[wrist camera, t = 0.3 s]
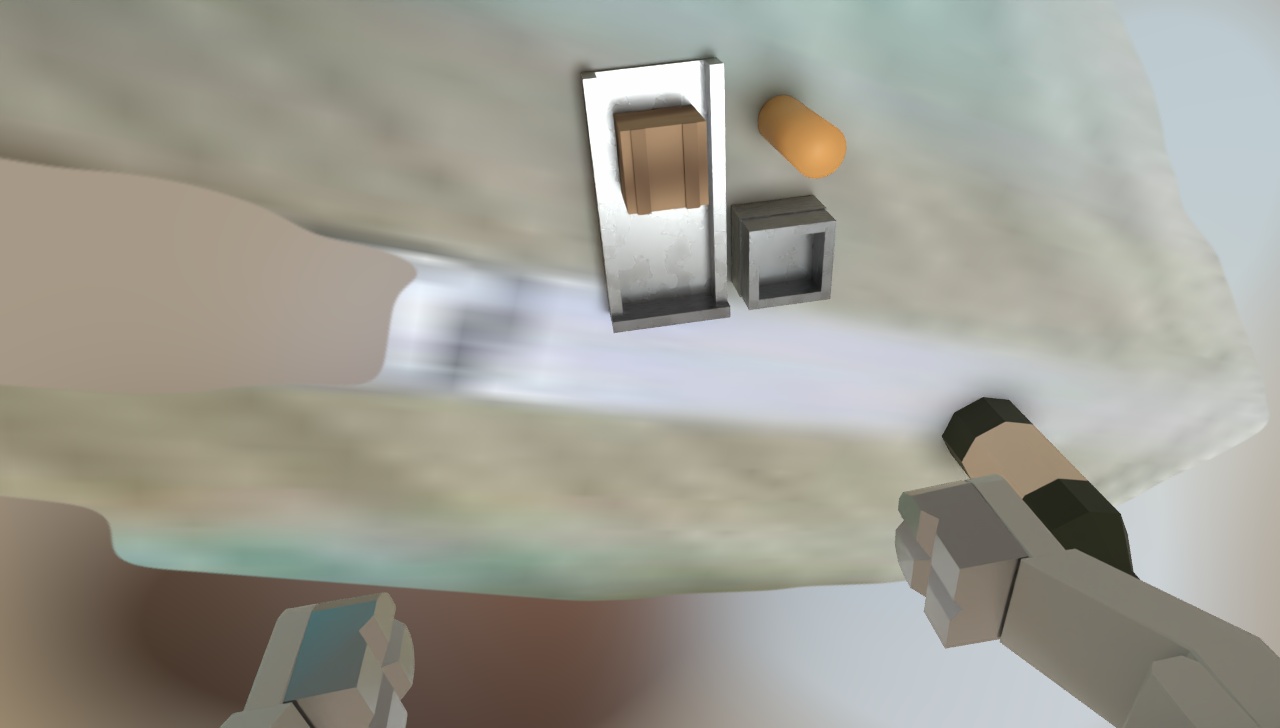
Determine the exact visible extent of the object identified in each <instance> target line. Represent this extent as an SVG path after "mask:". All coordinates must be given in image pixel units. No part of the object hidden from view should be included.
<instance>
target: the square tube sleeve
mask: <svg viewBox="0 0 1280 728" xmlns="http://www.w3.org/2000/svg"><path fill="white" fill-rule="evenodd" d="M835 230H836V220H835V219H834V218H833V217H832V216H831V215H830V214H829V213H828V212H827V211H826V207H825V206H824V205H823V204H822V203H821V202H820V201H819V200H818V199H817V198H816V197H815V196H814V195H811V196H803V197H795V198H787V199H780V200H772V201H764V202H756V203H748V204H740V205H732V206H731V247H732V283H733V285H734V286H735V288H736V290H737V292H738V294H739V296H740V297H742V298H743V300H744V302H745V303H746V305H747V307H748V309H749V310H752V309H760V308H767V307H774V306H782V305H789V304H796V303H804V302H811V301H818V300H826V299H830V294H831V281H832V268H833V255H834V242H835Z"/></svg>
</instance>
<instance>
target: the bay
mask: <svg viewBox="0 0 1280 728" xmlns="http://www.w3.org/2000/svg"><path fill="white" fill-rule="evenodd" d="M581 78H582V86H583V95H584V103H585V111H586V119H587V127H588V136H589V144H590V152H591V160H592V169H593V177H594V185H595V193H596V202H597V210H598V218H599V226H600V234H601V243H602V251H603V259H604V267H605V276H606V284H607V292H608V300H609V308H610V315H611V321H612V326H613V331H614V333H617V332H624V331H632V330H639V329H646V328H654V327H661V326H668V325H675V324H683V323H690V322H697V321H705V320H712V319H719V318H727V317H730V305H729V303H728V301H727V240H726V172H725V104H724V63H723V62H721V61H720V60H719V59H717V58H707V59H699V60H690V61H681V62H672V63H663V64H654V65H646V66H637V67H628V68H619V69H610V70H602V71H593V72H584V73H581ZM687 105H693V106H694V107H695V108H696V110H697V111H698V112H699V113H700V114H701V115H702V117H703V118H704V119H705V120H706V126H707V160H708V195H709V205H702V206H700V208H694V209H686V208H679V209H671V210H663V211H655V212H652V214H646V215H638V214H631V215H628V213H627V209H626V206H625V203H624V200H623V197H622V194H621V187H620V177H619V167H618V157H617V147H616V137H615V127H614V117H613V114H619V113H627V112H636V111H644V110H653V109H662V108H670V107H679V106H687Z"/></svg>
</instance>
